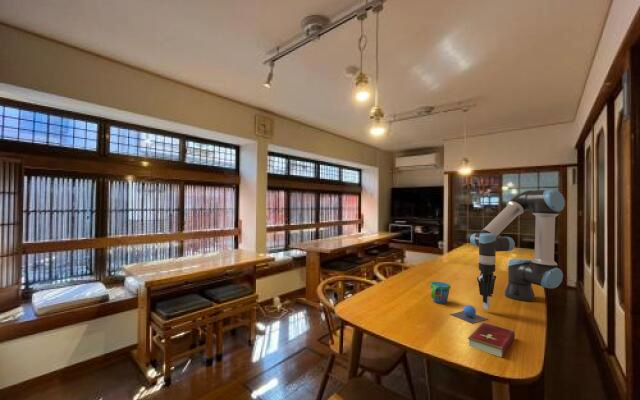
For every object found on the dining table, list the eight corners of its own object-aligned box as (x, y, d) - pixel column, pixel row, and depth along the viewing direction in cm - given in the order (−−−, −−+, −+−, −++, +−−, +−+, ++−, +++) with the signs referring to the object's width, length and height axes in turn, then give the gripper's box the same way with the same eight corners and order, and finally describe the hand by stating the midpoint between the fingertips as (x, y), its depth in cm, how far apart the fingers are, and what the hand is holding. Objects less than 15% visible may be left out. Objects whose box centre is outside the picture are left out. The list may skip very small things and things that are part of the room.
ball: (469, 317, 144) (472, 307, 145) (476, 320, 139) (479, 309, 140) (459, 312, 144) (463, 302, 145) (466, 315, 139) (469, 304, 140)
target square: (465, 310, 150) (465, 310, 150) (488, 319, 139) (488, 318, 139) (450, 314, 144) (450, 314, 144) (472, 323, 133) (472, 323, 133)
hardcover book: (514, 340, 119) (514, 330, 119) (502, 359, 104) (503, 348, 104) (482, 330, 128) (482, 321, 128) (467, 347, 113) (467, 336, 113)
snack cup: (439, 296, 171) (440, 279, 171) (456, 302, 162) (456, 284, 162) (423, 301, 163) (423, 283, 163) (440, 307, 154) (440, 288, 154)
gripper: (487, 260, 154) (486, 304, 154) (472, 262, 148) (471, 308, 148) (501, 263, 148) (501, 309, 148) (486, 265, 142) (485, 313, 142)
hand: (486, 308), depth 148 cm, fingers closed
